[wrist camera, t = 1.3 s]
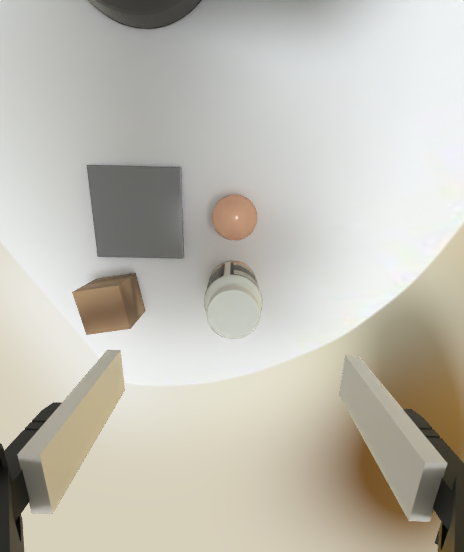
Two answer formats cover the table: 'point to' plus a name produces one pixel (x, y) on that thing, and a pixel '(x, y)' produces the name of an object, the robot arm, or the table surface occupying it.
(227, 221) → the peach dome knob
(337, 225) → the table surface
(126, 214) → the coaster
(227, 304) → the pill bottle
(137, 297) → the walnut block
